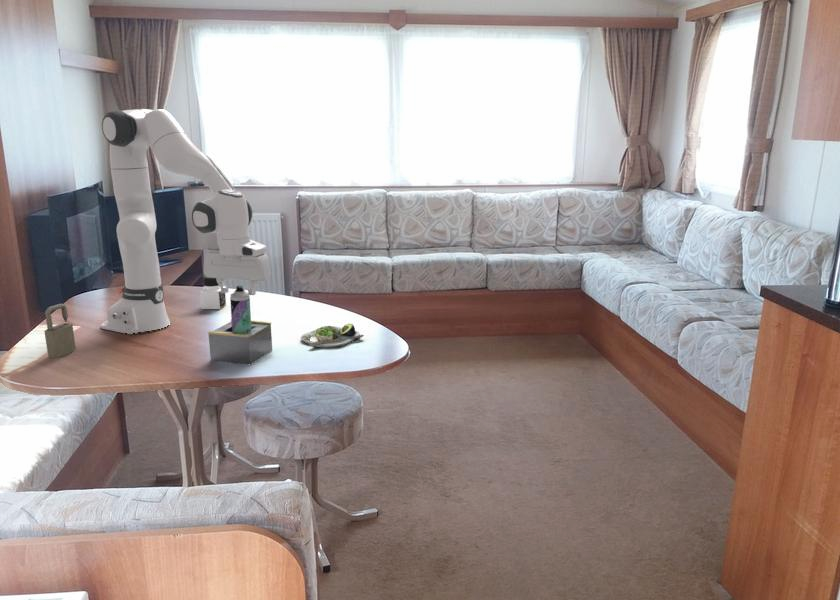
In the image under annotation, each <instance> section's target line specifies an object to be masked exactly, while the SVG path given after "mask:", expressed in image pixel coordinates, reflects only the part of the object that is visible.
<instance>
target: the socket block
mask: <svg viewBox="0 0 840 600" xmlns="http://www.w3.org/2000/svg"><path fill="white" fill-rule="evenodd" d="M207 334H208V342H209V343H208V345H209V357H210V361H212V360H214V361H213V362H220V361H222V362H223V363H229V362H230V363H231V364H238V363H239V364H238V365H247V364H250V365H249V366H251V365H252V363H253V364H254V363H256V362H257V361H258V359H259V360H260V359H261V358H264V357H265V356H266V355H267V354H269V353H271V352H272V351H273V338H272V322H270V321H262V320H261V321H259V320H251V330H250V331H248V332H246V333H236V332H232V318H231V319H230V322H228V323H225V324H224V325H222V326H220V327H218V328H216V329H214V330H208V331H207ZM255 361H256V362H255ZM222 362H221V363H222Z"/></svg>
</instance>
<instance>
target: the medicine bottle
mask: <svg viewBox="0 0 840 600" xmlns="http://www.w3.org/2000/svg"><path fill="white" fill-rule="evenodd" d="M202 282H203V283H202V284H203V289H201V290H200V291H199V293H200V295H199V297H200V306H201V310H202V309H219V310H218V311H221V310H222V309H223V308H224V307H225V306H226V305H227V298H226V293H221V287H220V286H219V284H218V283H217V280H216V278H210V277H206V276H205V275H204V276H203V278H202ZM220 309H221V310H220Z"/></svg>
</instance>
